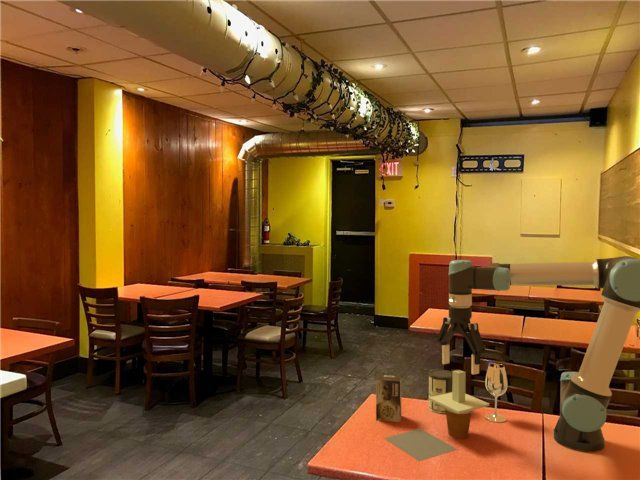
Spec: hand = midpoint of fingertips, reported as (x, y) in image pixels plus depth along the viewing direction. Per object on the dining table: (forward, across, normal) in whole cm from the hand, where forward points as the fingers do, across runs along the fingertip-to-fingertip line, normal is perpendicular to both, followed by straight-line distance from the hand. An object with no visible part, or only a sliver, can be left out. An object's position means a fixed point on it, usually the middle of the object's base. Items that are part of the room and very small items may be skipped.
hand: (460, 368), depth 169 cm
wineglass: (+24, -6, +24) cm, 34 cm away
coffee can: (+24, -22, +13) cm, 35 cm away
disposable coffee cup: (+24, 0, 0) cm, 24 cm away
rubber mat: (+24, -2, -16) cm, 29 cm away
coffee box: (+24, -24, -12) cm, 36 cm away
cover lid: (+12, 0, 0) cm, 12 cm away
